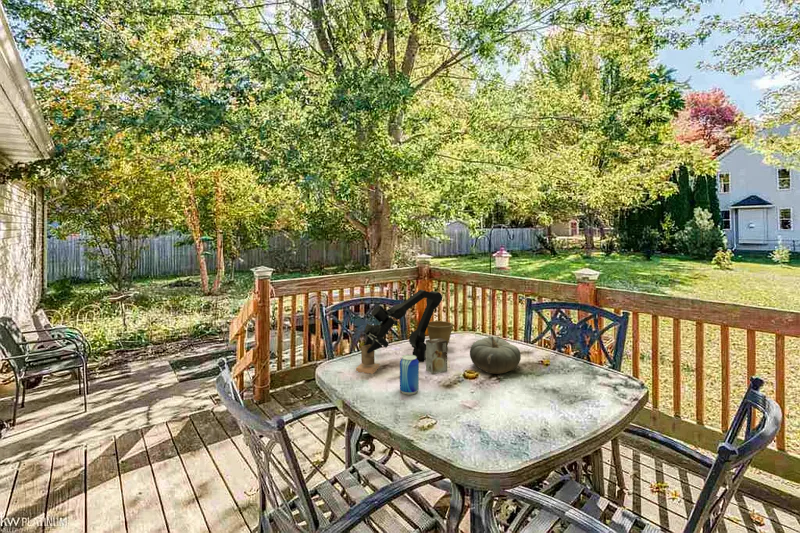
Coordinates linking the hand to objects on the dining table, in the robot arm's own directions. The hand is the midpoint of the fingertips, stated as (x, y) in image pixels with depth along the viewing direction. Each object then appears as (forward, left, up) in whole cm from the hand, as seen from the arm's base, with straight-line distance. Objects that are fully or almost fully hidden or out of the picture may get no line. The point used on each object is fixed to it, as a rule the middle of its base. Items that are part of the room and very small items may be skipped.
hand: (365, 351), depth 211 cm
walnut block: (-1, -1, -7) cm, 7 cm away
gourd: (-62, -24, -10) cm, 68 cm away
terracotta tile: (-1, -1, -10) cm, 11 cm away
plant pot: (-27, -44, -10) cm, 53 cm away
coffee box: (-34, -11, -10) cm, 38 cm away
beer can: (-29, +18, -10) cm, 36 cm away
